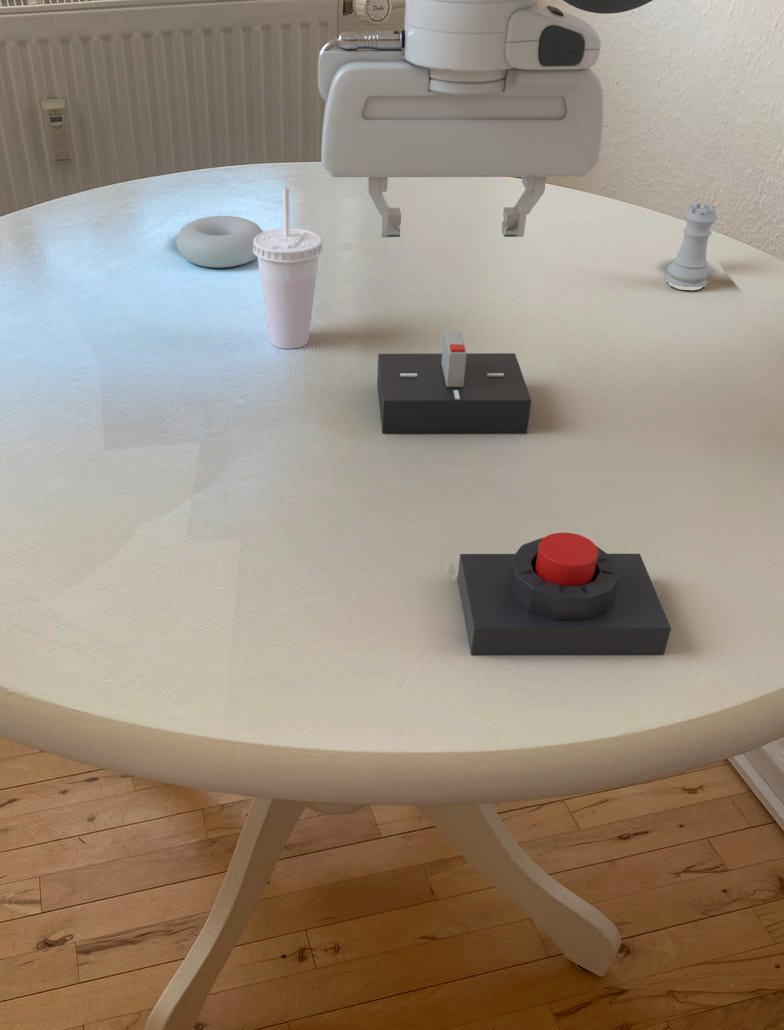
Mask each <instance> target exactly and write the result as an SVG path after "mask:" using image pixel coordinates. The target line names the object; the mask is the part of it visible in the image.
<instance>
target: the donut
mask: <svg viewBox="0 0 784 1030" xmlns="http://www.w3.org/2000/svg"><path fill="white" fill-rule="evenodd" d="M263 232H264V231H263V230H262V228H261V227H260V226H259V225H258V224H257V223H256V222H255V221H252V220H250V219H247V218H243V217H240V216H234V215H213V216H205V217H200V218H198V219H194V220H192V221H190V222H187V224H185V225H183V226H181V228H180V230H179V232H178V235H177V236H176V248H177V250H178V252H179V254H180V255H181V257H182V258H183V259H184V260H186V261H187V262H189V263H190V264H194V265H197V266H199V267H200V266H201V267H207V268H212V269H213V268H218V269H220V268H221V269H224V268H225V267H226V268H233V267H234V266H235V267H238V265H239V266H243V265H246V264H248V263H250V262H252V261H254V260H256V259H258V258H257V256H256V255H255V254H254V252H253V248H254V245H253V240H254V238H255V237H256V236H257V235H259V234H260V233H263ZM242 264H243V265H242Z"/></svg>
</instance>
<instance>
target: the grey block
mask: <svg viewBox="0 0 784 1030" xmlns="http://www.w3.org/2000/svg"><path fill="white" fill-rule="evenodd" d="M467 353H468V352H467V350H466V347H465V343H464V339H463V336H462V331H461V330H443V339H442V351H441V354H442V362H441V364H442V368H443V373H444V377H445V382H446V386H447V387H463V385H464V375H465V365H466V354H467Z"/></svg>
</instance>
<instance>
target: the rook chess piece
mask: <svg viewBox="0 0 784 1030" xmlns="http://www.w3.org/2000/svg"><path fill="white" fill-rule="evenodd" d="M716 210H717V208H716V206H714V205H710V203H704V204H703V207H701V202H697V203H694V204H690V205H689V209H688V210H687V212H685V213H684V214H683V215H684V219H685V221H686V227H685V228H684V229H683V234H684V235H683V240H682V242H681V245H680V248H679V250H678V253H677V255H676V256H675V258H673V262H671V263H670V264H669V265H668V267H667V270H666V271H667V275H666V276H665V277H666V280H667V281H668V282H669V283H672V284H674V285H678V286H682V287H701V286H704V285H706V284H707V283H708V284H709V280H708V279H707V278H708V277H709V276H710V268H709V266H708V264H709V263H708V260H707V250H708V242H709V237H710V236H711V235H712V230H711V227H712V225H713V224H714V223H715V222H716V221H717V220H718V215H717V214H716ZM707 280H708V281H707ZM708 284H707V285H708ZM707 285H706V286H707Z"/></svg>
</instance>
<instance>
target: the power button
mask: <svg viewBox="0 0 784 1030" xmlns="http://www.w3.org/2000/svg"><path fill="white" fill-rule="evenodd" d="M542 538H543V537H542ZM596 546H597V545H596V544H595V542H593V541H592V540H590V539H589V538H588V537H586V536H583V535H581V534H577V533H573V532H554V533H551V534H548V535H546V536H545V537H544V538H543V539H542V540H541V542H540V544H539V549H538V555H537V561H536V572H537V574H538V576H540V577H541V578H542V579H543V580H545V581H548V582H551V583H554V584H557V585H560V586H583V585H585V584H588V583H589V582H590V581H591V580H592V578H593V576H594V571H595V566H596V561H597V557H598V549H597V547H598V546H597V547H596Z"/></svg>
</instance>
